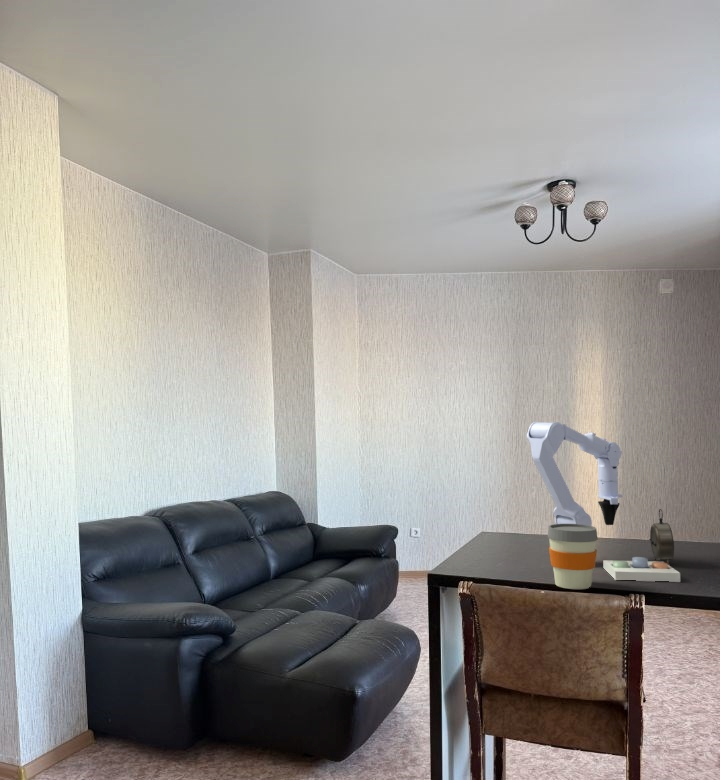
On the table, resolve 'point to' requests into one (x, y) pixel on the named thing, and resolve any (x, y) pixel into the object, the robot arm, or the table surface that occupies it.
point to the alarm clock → (662, 541)
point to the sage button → (620, 564)
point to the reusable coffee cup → (572, 554)
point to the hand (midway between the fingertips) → (609, 524)
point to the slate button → (639, 562)
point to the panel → (641, 572)
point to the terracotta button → (659, 565)
